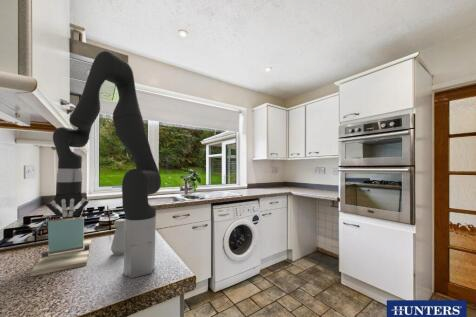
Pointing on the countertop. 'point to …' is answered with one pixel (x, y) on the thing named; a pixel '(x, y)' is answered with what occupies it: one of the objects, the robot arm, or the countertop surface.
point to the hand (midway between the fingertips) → (67, 226)
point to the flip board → (62, 260)
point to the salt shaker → (118, 237)
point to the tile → (65, 234)
